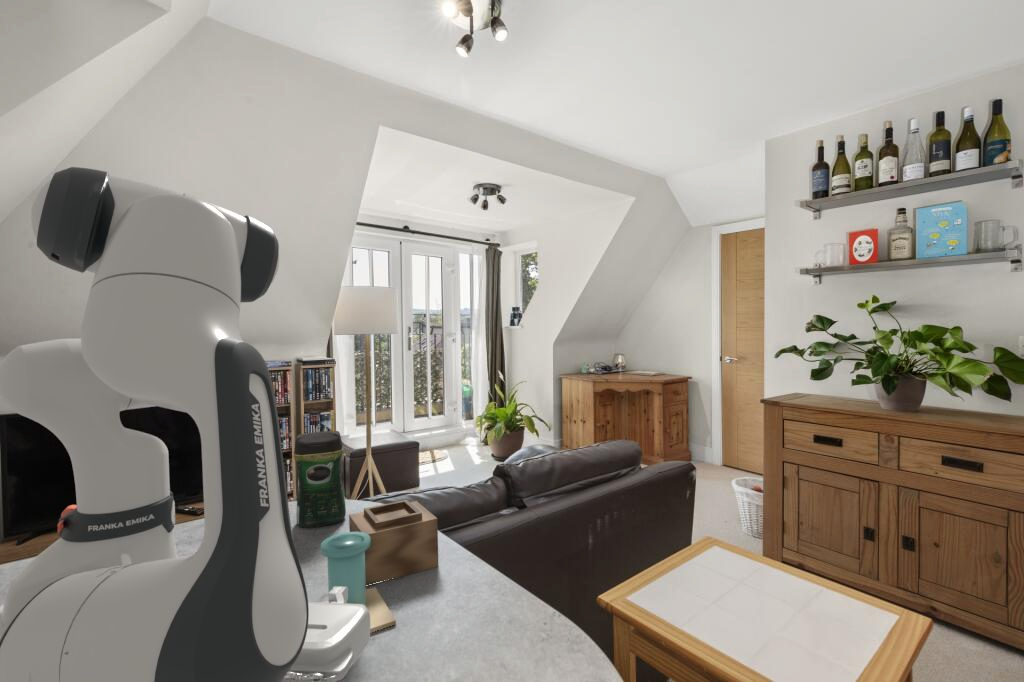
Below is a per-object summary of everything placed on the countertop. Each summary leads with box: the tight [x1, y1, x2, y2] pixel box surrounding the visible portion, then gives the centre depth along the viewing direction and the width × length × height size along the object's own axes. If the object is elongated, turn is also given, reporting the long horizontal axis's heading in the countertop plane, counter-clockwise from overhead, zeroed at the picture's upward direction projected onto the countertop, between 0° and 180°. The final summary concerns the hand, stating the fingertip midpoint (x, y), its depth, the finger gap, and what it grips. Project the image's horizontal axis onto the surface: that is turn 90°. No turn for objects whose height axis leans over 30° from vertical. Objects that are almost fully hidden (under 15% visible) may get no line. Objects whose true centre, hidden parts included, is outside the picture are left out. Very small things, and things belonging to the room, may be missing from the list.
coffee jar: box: [293, 430, 347, 528], centre depth 101 cm, size 10×8×19 cm
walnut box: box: [348, 499, 439, 585], centre depth 82 cm, size 12×10×9 cm
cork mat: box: [322, 586, 397, 634], centre depth 66 cm, size 10×10×1 cm
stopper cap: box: [320, 531, 371, 606], centre depth 66 cm, size 6×6×10 cm
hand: (301, 590), depth 55 cm, fingers open, 8 cm apart
